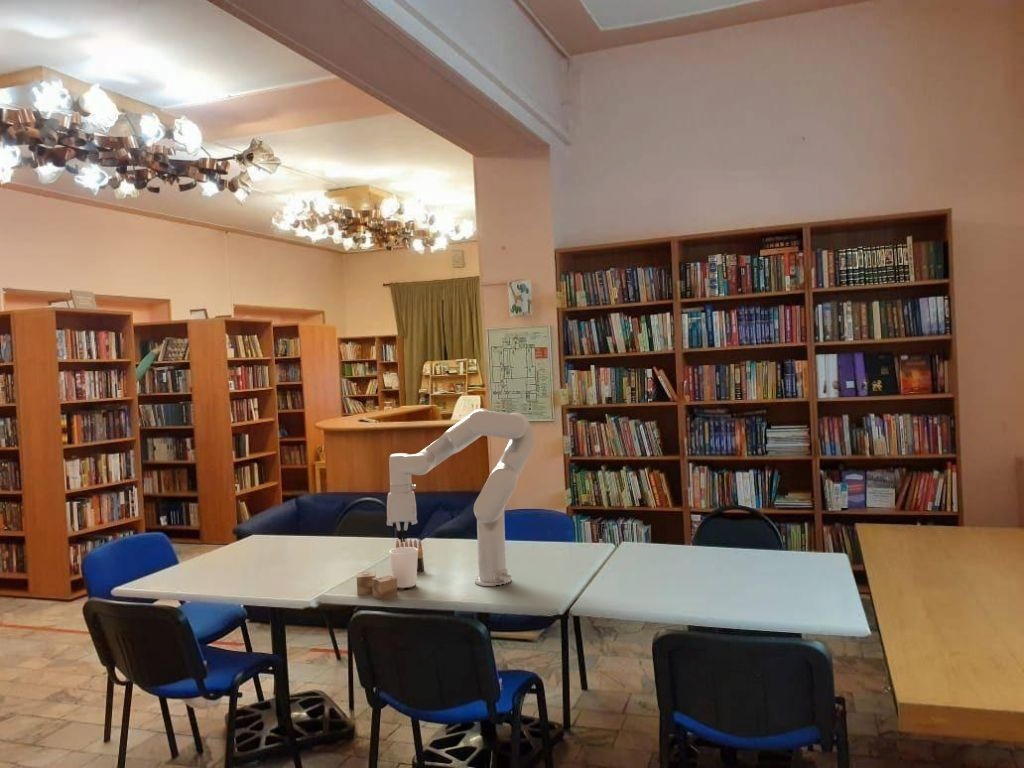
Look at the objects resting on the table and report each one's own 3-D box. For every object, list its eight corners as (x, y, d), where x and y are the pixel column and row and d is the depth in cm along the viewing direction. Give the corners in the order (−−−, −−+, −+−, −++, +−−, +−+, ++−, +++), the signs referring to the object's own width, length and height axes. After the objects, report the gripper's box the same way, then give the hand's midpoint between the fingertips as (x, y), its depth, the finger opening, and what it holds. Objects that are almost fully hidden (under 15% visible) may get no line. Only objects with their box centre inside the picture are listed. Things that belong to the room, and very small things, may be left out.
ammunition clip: (395, 571, 276) (394, 539, 276) (397, 570, 278) (395, 538, 278) (422, 572, 274) (421, 539, 274) (424, 570, 276) (422, 538, 276)
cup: (424, 583, 259) (422, 547, 259) (412, 591, 249) (411, 554, 249) (397, 582, 261) (396, 546, 261) (385, 590, 252) (384, 553, 252)
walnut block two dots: (397, 596, 246) (396, 577, 245) (381, 600, 242) (380, 581, 242) (388, 592, 250) (387, 574, 250) (372, 596, 247) (371, 577, 246)
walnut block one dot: (376, 588, 255) (375, 570, 255) (375, 593, 249) (374, 575, 249) (358, 590, 254) (357, 572, 254) (357, 595, 248) (356, 576, 248)
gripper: (422, 486, 264) (423, 537, 264) (379, 488, 262) (381, 540, 262) (422, 489, 256) (424, 542, 257) (378, 491, 254) (380, 545, 254)
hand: (402, 541), depth 259 cm, fingers closed
